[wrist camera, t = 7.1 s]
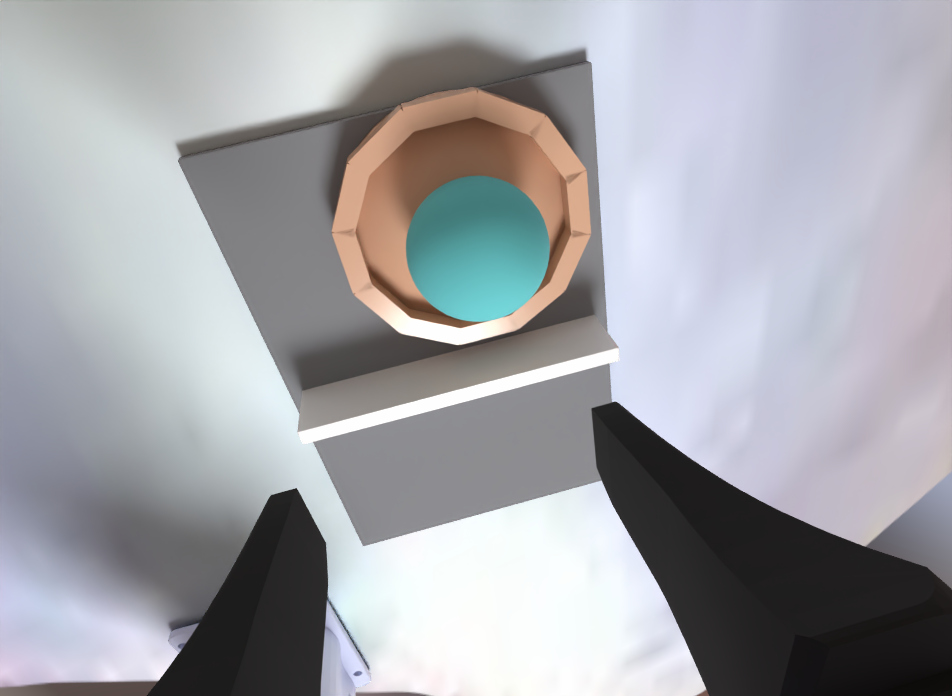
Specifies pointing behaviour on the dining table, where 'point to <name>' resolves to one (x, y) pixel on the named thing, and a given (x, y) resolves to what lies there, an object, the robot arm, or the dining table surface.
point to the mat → (381, 346)
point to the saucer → (438, 162)
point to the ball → (477, 248)
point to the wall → (454, 378)
